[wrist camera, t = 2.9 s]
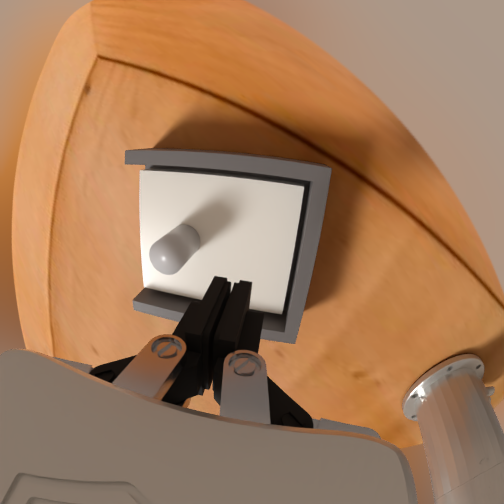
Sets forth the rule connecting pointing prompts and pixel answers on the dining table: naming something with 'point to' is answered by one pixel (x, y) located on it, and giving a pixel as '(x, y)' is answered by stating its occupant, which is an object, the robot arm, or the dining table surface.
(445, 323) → the dining table surface
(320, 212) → the dark box
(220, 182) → the cover plate
